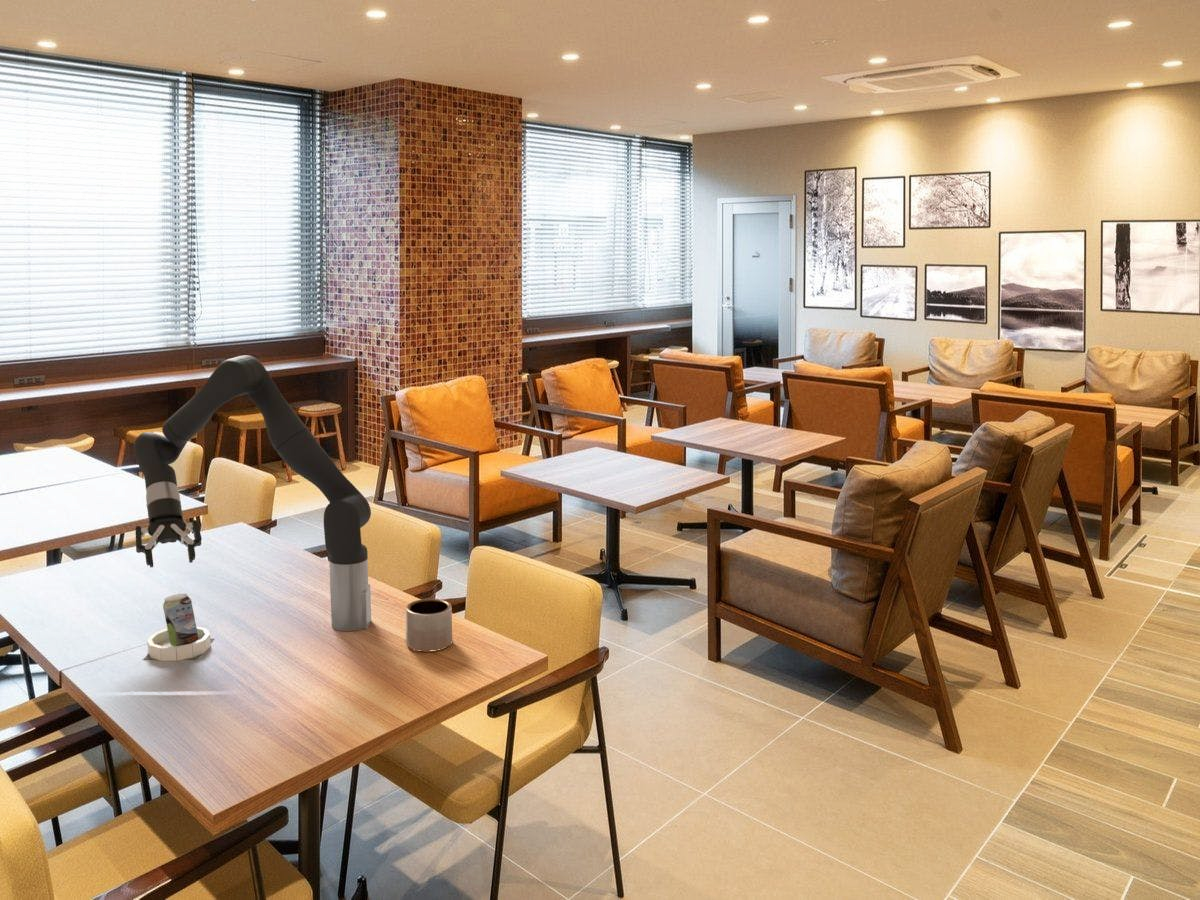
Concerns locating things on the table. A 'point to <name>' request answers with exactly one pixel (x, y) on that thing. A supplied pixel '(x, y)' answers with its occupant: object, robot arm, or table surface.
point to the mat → (183, 659)
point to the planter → (428, 624)
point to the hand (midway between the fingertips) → (171, 563)
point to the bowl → (166, 652)
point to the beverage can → (180, 620)
